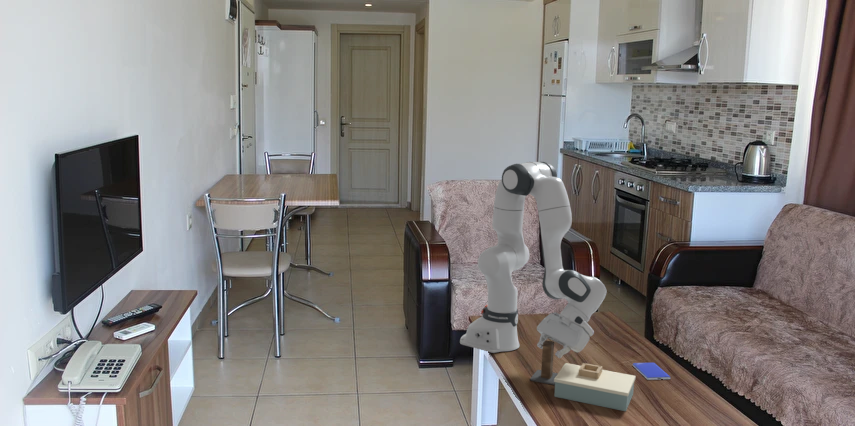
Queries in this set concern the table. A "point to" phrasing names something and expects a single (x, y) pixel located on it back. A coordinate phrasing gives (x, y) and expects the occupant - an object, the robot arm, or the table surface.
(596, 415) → the table surface
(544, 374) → the walnut key
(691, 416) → the table surface
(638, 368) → the hard drive
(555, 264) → the robot arm
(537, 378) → the key mat
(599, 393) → the cream and teal block
